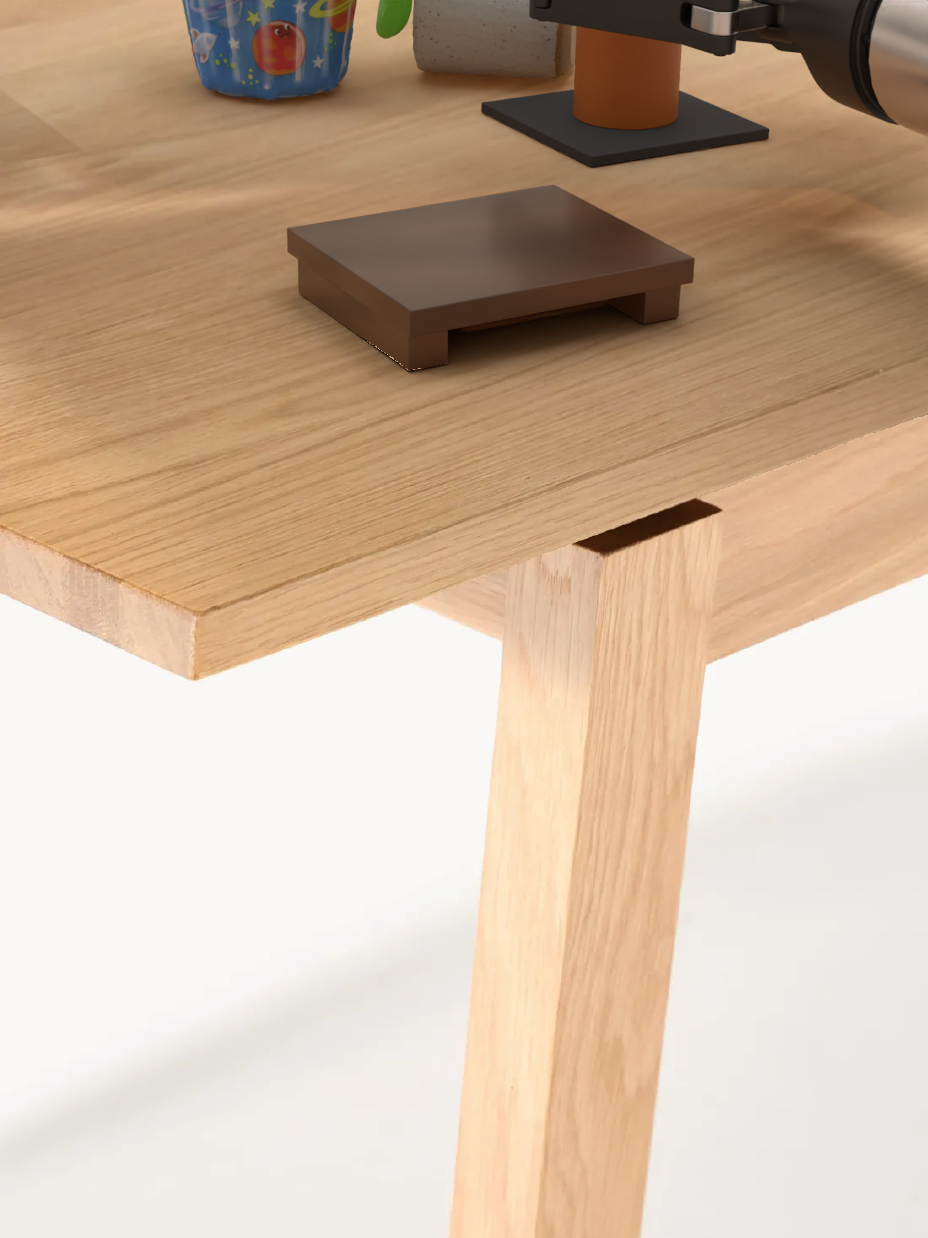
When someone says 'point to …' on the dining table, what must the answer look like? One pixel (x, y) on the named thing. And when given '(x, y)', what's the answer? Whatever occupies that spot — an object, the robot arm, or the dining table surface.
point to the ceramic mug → (490, 39)
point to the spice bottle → (625, 80)
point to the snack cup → (279, 43)
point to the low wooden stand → (480, 267)
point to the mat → (601, 146)
